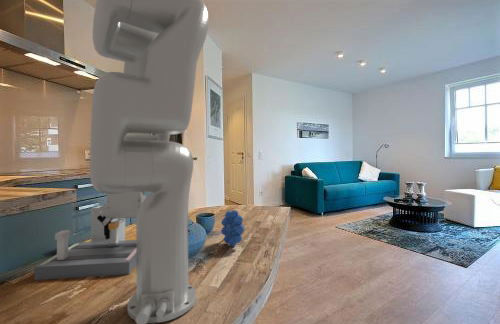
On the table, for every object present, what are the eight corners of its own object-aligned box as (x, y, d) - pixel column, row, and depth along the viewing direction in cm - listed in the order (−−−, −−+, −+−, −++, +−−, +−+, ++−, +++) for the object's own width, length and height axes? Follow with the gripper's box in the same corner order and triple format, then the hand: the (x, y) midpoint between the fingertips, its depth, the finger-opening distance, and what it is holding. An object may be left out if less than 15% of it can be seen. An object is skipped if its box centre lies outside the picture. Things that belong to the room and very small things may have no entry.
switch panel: (129, 274, 59) (129, 234, 59) (34, 279, 56) (34, 238, 56) (148, 249, 76) (148, 217, 76) (76, 252, 73) (76, 220, 73)
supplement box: (109, 247, 77) (109, 208, 77) (90, 246, 79) (89, 207, 79) (126, 240, 84) (125, 204, 84) (107, 239, 86) (107, 203, 86)
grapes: (253, 248, 77) (253, 210, 76) (236, 253, 72) (236, 213, 72) (233, 238, 86) (233, 205, 86) (216, 242, 82) (216, 207, 81)
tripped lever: (116, 245, 69) (116, 223, 69) (107, 246, 69) (107, 223, 69) (120, 242, 72) (120, 221, 72) (111, 243, 72) (111, 221, 72)
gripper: (160, 177, 76) (160, 232, 76) (100, 178, 73) (101, 234, 73) (154, 179, 68) (154, 239, 68) (87, 180, 66) (88, 243, 66)
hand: (126, 237), depth 71 cm, fingers open, 9 cm apart
